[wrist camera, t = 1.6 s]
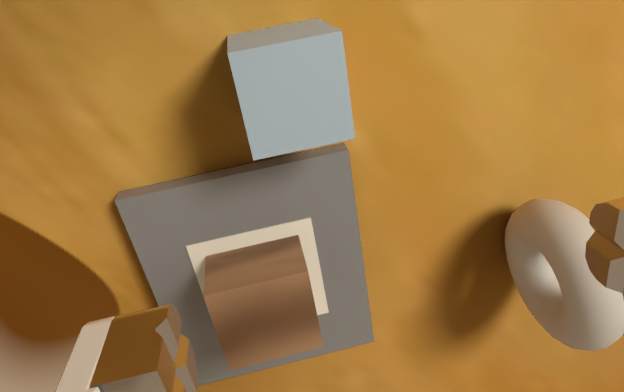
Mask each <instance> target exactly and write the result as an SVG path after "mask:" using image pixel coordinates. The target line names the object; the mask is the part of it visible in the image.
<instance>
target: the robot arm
mask: <svg viewBox="0 0 624 392" xmlns="http://www.w3.org/2000/svg"><path fill="white" fill-rule="evenodd" d="M589 224H590V225H591V226H592V228H593V229H594V230H595V232H594V233H593V234H592V236H591V237H590V238H589V240H588V241H587V242H586V251H585V258H586V261H587V264H588V267H589V270H590V271H591V273H592V274H593V276H594V277H595V278H596V280H598V281H599V282H600V283H601V284H602V285H603V286H604V287H606V288H608V289H611V290H614V291H617V292H620V293H623V299H624V198H619V199H615V200H611V201H607V202H603V203H599V204H596V205H595V206H594V208H593V210H592V211H591V215H590V221H589ZM181 324H182V320H181V318H180V315H179V313H178V311H177V308H176V307H175V306H174V305H172V304H169V305H164V306H160V307H155V308H150V309H146V310H141V311H136V312H132V313H127V314H122V315H118V316H116V317H110V318H105V319H101V320H96V321H92V322H88V323H87V324H86V325H84V326H83V327H82V329H81V331H80V334H79V336H78V338H77V341H76V343H75V346H74V348H73V350H72V353H71V355H70V358H69V360H68V362H67V365H66V367H65V369H64V372H63V374H62V377H61V379H60V381H59V384H58V386H57V389H56V391H55V392H196V390H197V369H196V360H195V356H194V352H193V348H192V346H191V343H190V340H189V339H188V338H187V337H185V336H183V335H182V334H180V332H181Z"/></svg>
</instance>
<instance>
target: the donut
mask: <svg viewBox="0 0 624 392" xmlns="http://www.w3.org/2000/svg"><path fill="white" fill-rule="evenodd" d="M589 221H590V220H589V219H588V218H587V217H586V216H585V215H584V214H583V213H581V212H580V211H579V210H577V209H575V208H573V207H571V206H569V205H567V204H565V203H563V202H561V201H559V200H554V199H533V200H530V201H528V202H526V203H524V204H523V205H521V206H520V207H518V208H517V209H516V210H515V211H514V212H513V213H512V214H511V216H510V219H509V221H508V224H507V227H506V229H505V250H506V256H507V262H508V265H509V268H510V272H511V275H512V278H513V280H514V282H515V285H516V287H517V289H518V292H519V294H520V296H521V297H522V299H523V301H524V303H525V304H526V306H527V308H528V309H529V311H530V312H531V313H532V315H533V316H534V317H535V319H536V320H537V321H538V323H539V324H540V325H541V326H542V327H543V328H544V329H545V330H546V331H547V332H548V333H549V334H550V335H551V336H552V337H553V338H555V339H557V340H558V341H560V342H562V343H563V344H565V345H567V346H569V347H571V348H574V349H579V350H589V351H596V350H602V349H604V348H606V347H608V346H610V345H611V344H613V343H614V342H615V341H617V340H618V339H619V338H620V337H621V336H622V335H623V333H624V299H623V293H620V292H617V291H614V290H611V289H608V288H606V287H604V286H603V285H602V284H601V283H600V282H599V281H598V280H596V278H595V277H594V276H593V274H592V273H591V271H590V270H589V267H588V264H587V261H586V258H585V251H586V242H587V241H588V240H589V238H590V237H591V236H592V234H593V233H594V232H595V230H594V229H593V228H592V226H591V225H590V224H589Z"/></svg>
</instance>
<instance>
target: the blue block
mask: <svg viewBox="0 0 624 392" xmlns="http://www.w3.org/2000/svg"><path fill="white" fill-rule="evenodd" d="M227 54H228V58H229V62H230V66H231V71H232V75H233V79H234V83H235V87H236V91H237V95H238V99H239V103H240V108H241V112H242V116H243V120H244V124H245V128H246V132H247V136H248V141H249V145H250V149H251V153H252V157H253V161H254V160H259V159H263V158H268V157H273V156H277V155H282V154H287V153H291V152H296V151H300V150H305V149H310V148H314V147H319V146H324V145H328V144H333V143H338V142H342V141H347V140H351V139H355V133H354V125H353V117H352V109H351V101H350V93H349V85H348V76H347V68H346V60H345V52H344V44H343V36H342V31H341V30H339V29H337V28H336V27H334V26H332V25H330V24H328V23H326V22H324V21H322V20H320V19H318V18H315V19H310V20H305V21H300V22H295V23H289V24H284V25H279V26H274V27H269V28H264V29H259V30H253V31H248V32H243V33H238V34H233V35H228V36H227Z"/></svg>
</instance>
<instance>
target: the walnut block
mask: <svg viewBox="0 0 624 392" xmlns="http://www.w3.org/2000/svg"><path fill="white" fill-rule="evenodd" d="M203 297H204V300H205V303H206V306H207V308H208V311H209V314H210V317H211V320H212V323H213V325H214V328H215V331H216V334H217V337H218V339H219V342H220V345H221V348H222V351H223V354H224V356H225V359H226V362H227V365H228V368H229V370H234V369H238V368H242V367H246V366H250V365H254V364H258V363H262V362H266V361H270V360H274V359H278V358H282V357H286V356H290V355H294V354H298V353H302V352H306V351H310V350H314V349H318V348H322V347H324V346H323V341H322V336H321V331H320V326H319V321H318V316H317V312H316V307H315V302H314V297H313V292H312V287H311V283H310V278H309V273H308V269H307V265H306V261H305V258H304V254H303V250H302V247H301V243H300V239H299V235H295V236H291V237H286V238H282V239H278V240H273V241H269V242H265V243H260V244H256V245H252V246H247V247H243V248H239V249H234V250H230V251H226V252H221V253H217V254H213V255H208V256H206V264H205V278H204V291H203Z"/></svg>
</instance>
